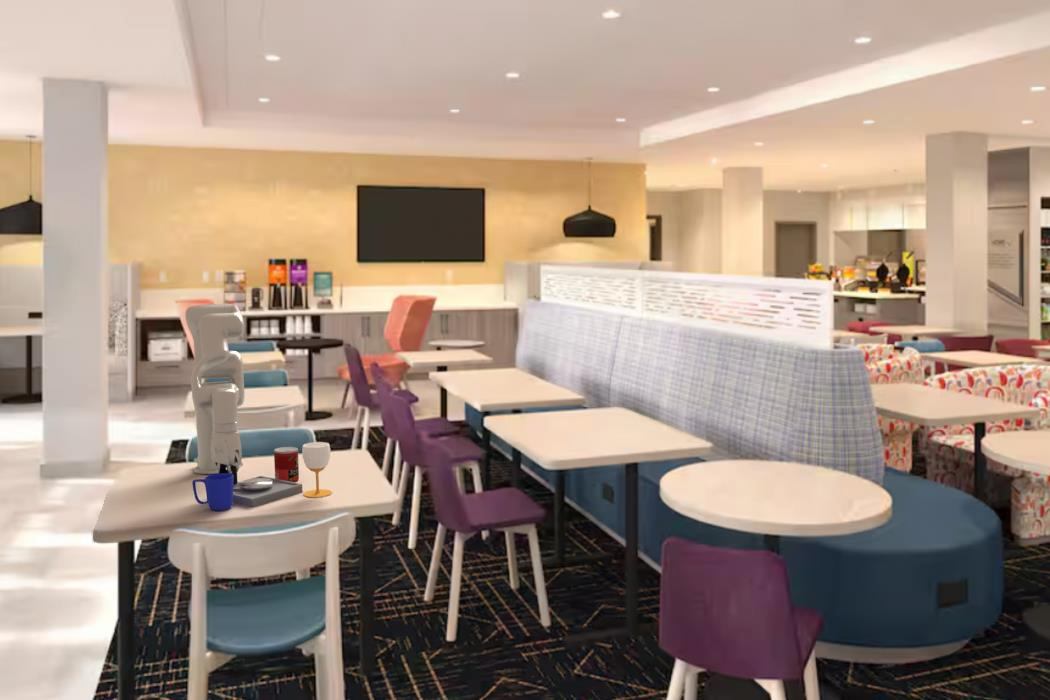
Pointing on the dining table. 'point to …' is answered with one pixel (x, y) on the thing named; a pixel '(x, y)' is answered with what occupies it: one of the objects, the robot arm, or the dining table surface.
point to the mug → (217, 491)
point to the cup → (316, 464)
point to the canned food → (286, 464)
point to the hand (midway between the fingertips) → (228, 483)
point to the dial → (254, 483)
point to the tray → (265, 492)
